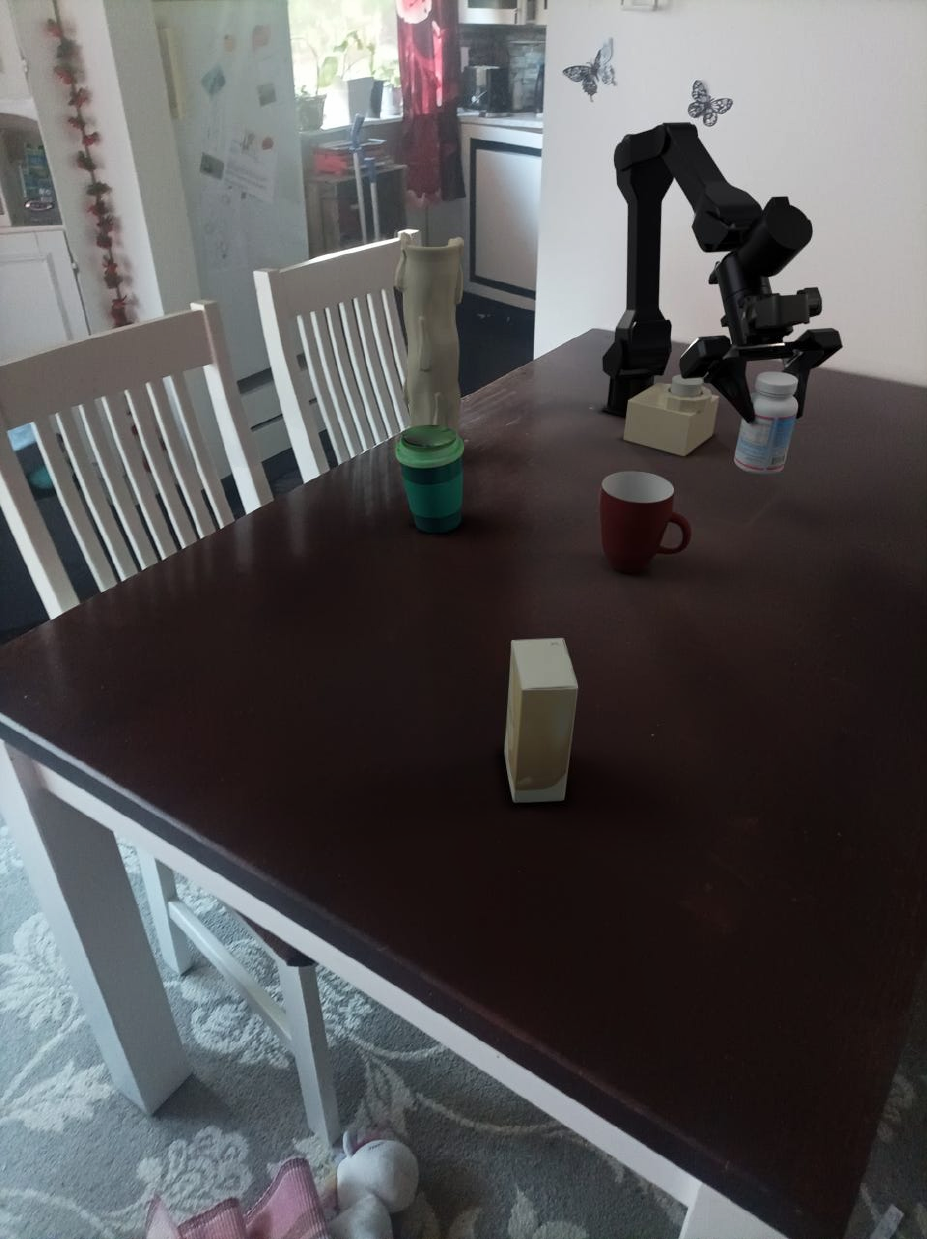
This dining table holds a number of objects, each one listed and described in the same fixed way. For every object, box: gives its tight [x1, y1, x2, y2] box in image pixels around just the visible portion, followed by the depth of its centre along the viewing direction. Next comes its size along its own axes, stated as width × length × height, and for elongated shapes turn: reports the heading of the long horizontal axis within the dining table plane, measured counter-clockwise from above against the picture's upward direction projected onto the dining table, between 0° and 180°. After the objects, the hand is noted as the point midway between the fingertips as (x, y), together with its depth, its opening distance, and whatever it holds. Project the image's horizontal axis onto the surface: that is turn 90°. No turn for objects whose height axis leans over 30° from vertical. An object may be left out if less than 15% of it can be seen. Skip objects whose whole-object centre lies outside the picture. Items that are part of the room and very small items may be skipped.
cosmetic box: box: [504, 637, 579, 804], centre depth 69 cm, size 6×4×12 cm
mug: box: [598, 470, 692, 574], centre depth 98 cm, size 10×8×10 cm
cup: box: [395, 425, 465, 535], centre depth 105 cm, size 8×8×12 cm
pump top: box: [670, 374, 704, 398], centre depth 125 cm, size 4×4×2 cm
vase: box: [394, 231, 465, 436], centre depth 117 cm, size 9×8×30 cm
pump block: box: [623, 381, 720, 457], centre depth 130 cm, size 11×10×8 cm
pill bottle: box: [733, 370, 798, 476], centre depth 105 cm, size 6×6×11 cm
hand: (775, 419), depth 103 cm, fingers closed on pill bottle, 6 cm apart
